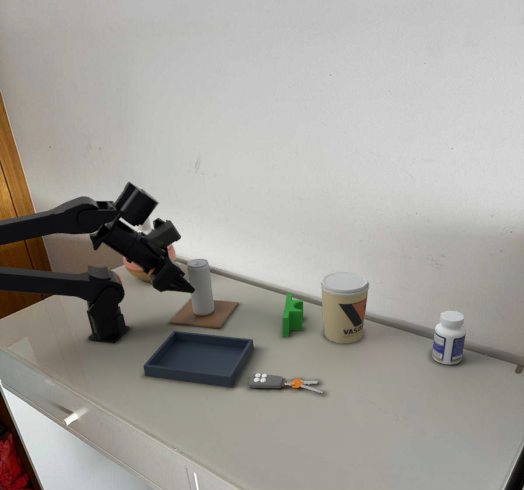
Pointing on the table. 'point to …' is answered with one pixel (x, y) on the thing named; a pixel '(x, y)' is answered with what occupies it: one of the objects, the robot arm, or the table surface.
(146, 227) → the vase
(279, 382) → the key chain
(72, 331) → the table surface
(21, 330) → the table surface
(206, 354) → the tray
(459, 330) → the pill bottle
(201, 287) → the beverage can
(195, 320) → the cork mat
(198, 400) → the table surface
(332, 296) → the beige lidded tub
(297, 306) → the pipe clamp
